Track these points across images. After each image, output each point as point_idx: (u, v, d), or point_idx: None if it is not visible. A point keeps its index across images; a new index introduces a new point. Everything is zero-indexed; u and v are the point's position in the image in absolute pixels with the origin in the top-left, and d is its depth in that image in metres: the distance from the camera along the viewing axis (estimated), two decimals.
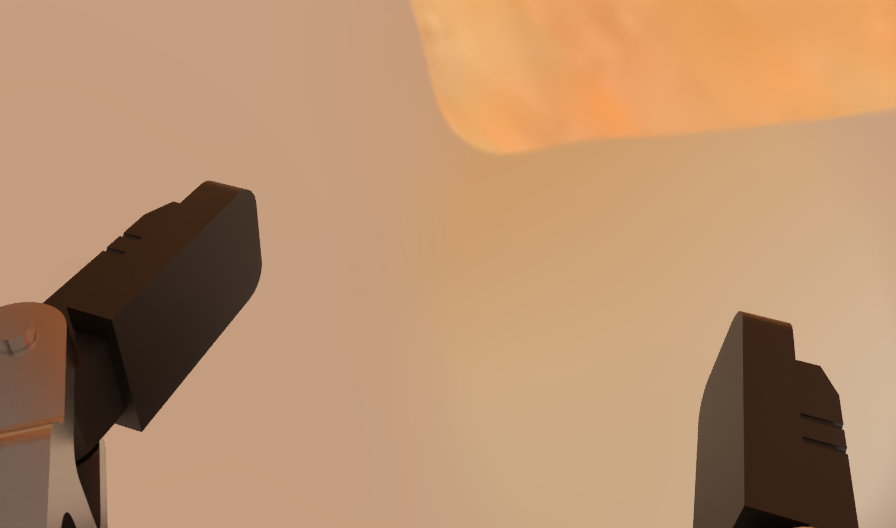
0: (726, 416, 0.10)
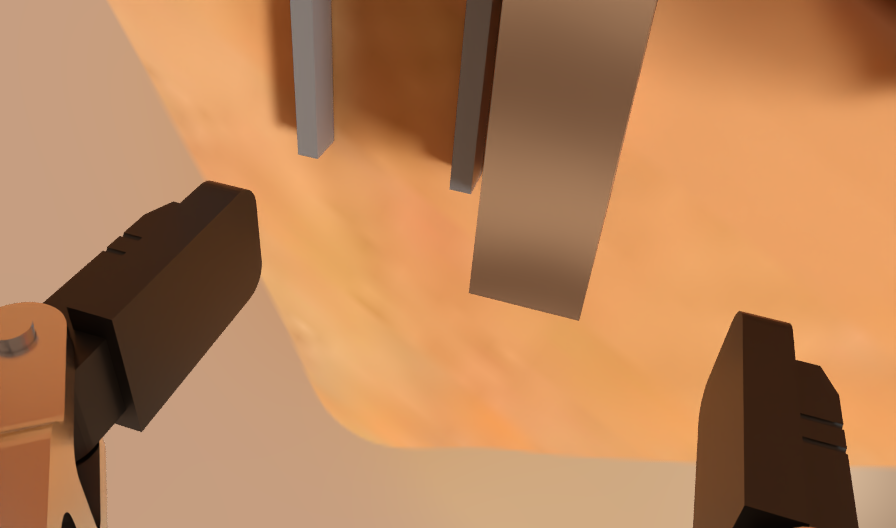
0: (726, 416, 0.10)
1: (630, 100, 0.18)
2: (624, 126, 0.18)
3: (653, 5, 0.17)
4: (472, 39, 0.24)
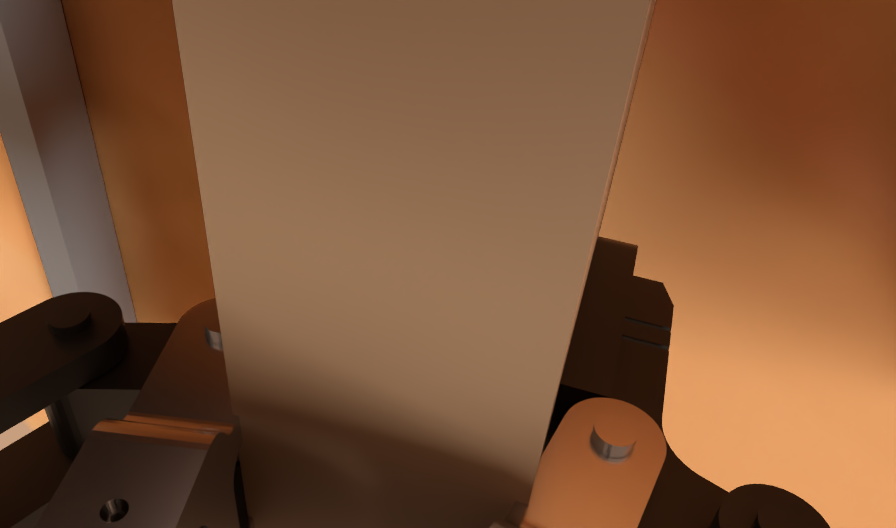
0: None
1: None
2: None
3: (543, 427, 0.07)
4: None
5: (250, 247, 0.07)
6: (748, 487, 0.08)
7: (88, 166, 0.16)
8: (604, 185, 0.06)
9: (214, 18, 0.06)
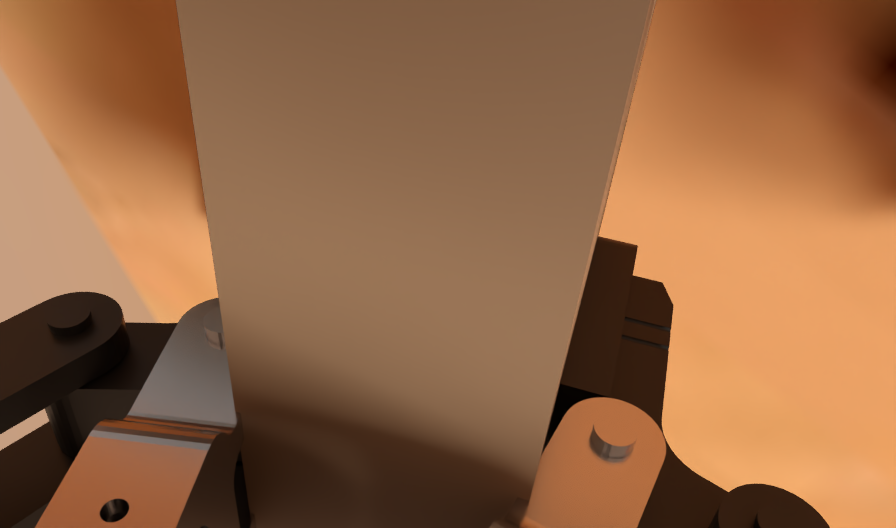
0: None
1: None
2: None
3: (544, 424, 0.07)
4: None
5: (253, 246, 0.07)
6: (747, 487, 0.08)
7: None
8: (604, 184, 0.06)
9: (217, 18, 0.06)
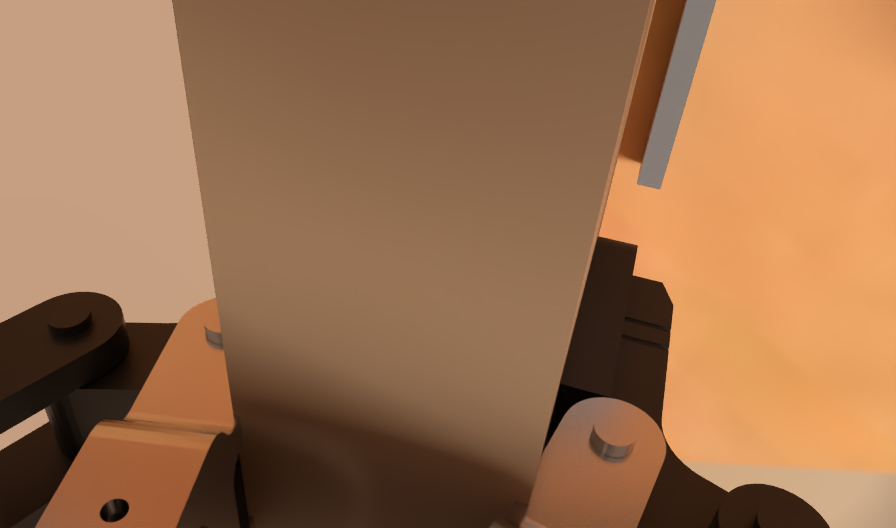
0: None
1: None
2: None
3: (543, 430, 0.07)
4: (691, 25, 0.23)
5: (251, 250, 0.07)
6: (747, 487, 0.08)
7: None
8: (603, 190, 0.06)
9: (215, 24, 0.06)
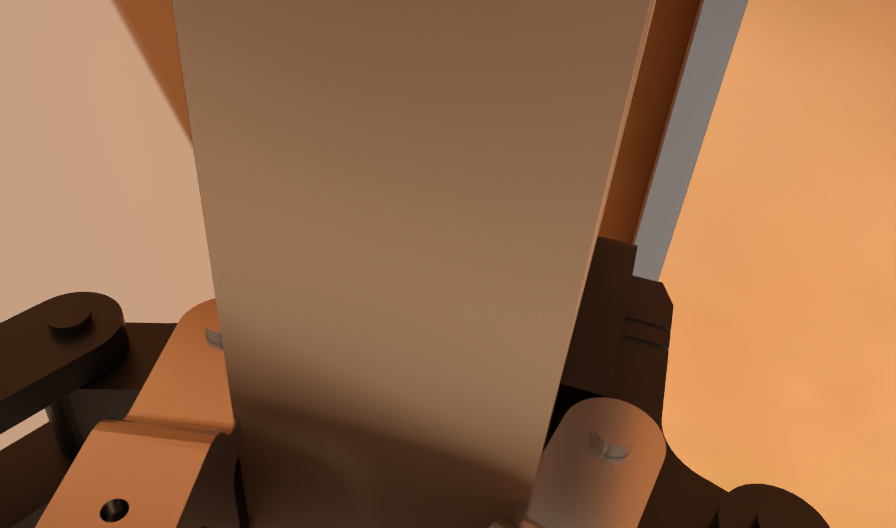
0: None
1: None
2: None
3: (543, 431, 0.07)
4: (680, 134, 0.17)
5: (250, 251, 0.07)
6: (747, 487, 0.08)
7: None
8: (603, 191, 0.06)
9: (215, 24, 0.06)
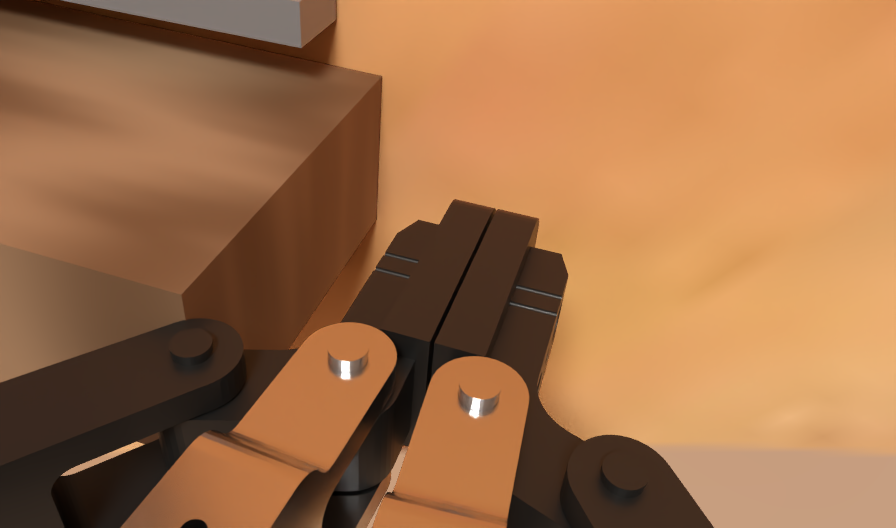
0: None
1: None
2: None
3: None
4: None
5: None
6: (589, 441, 0.09)
7: None
8: None
9: None
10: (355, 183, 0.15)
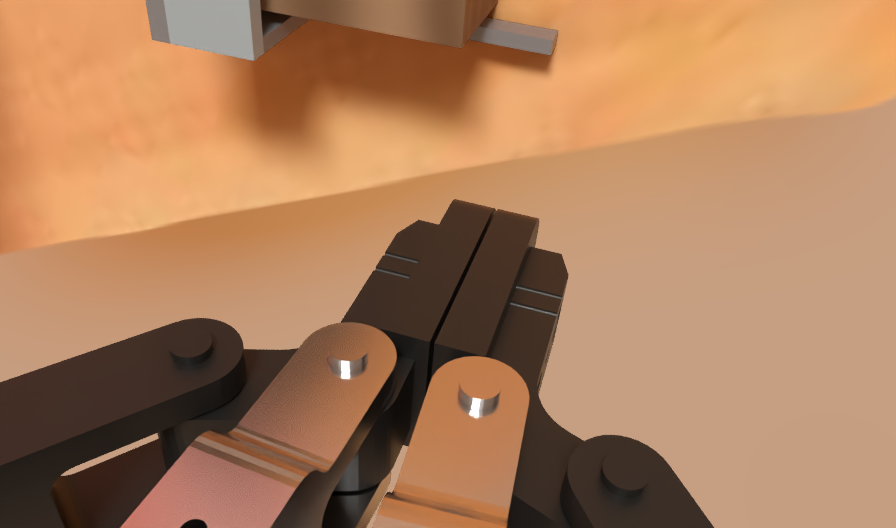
0: None
1: None
2: None
3: None
4: None
5: None
6: (590, 441, 0.09)
7: None
8: None
9: None
10: None
